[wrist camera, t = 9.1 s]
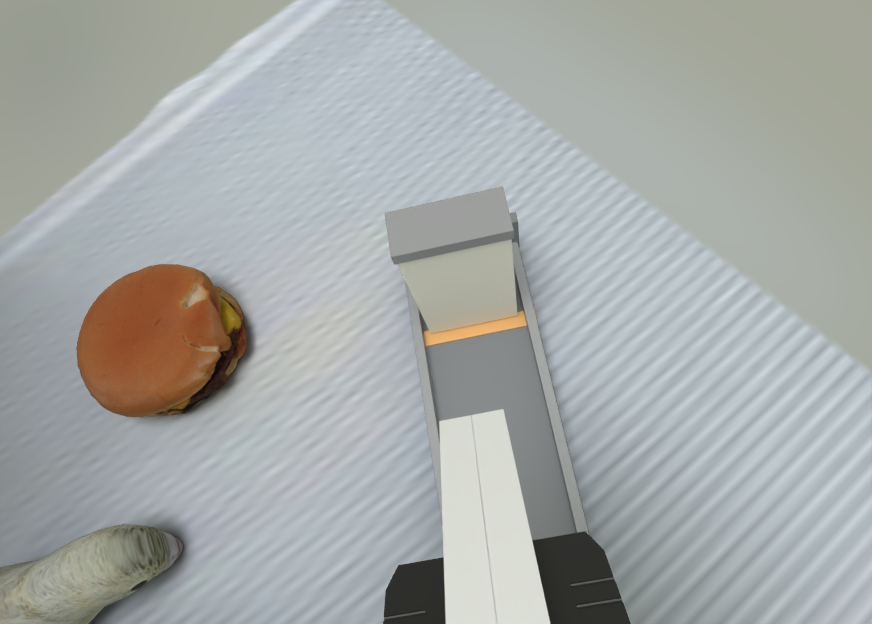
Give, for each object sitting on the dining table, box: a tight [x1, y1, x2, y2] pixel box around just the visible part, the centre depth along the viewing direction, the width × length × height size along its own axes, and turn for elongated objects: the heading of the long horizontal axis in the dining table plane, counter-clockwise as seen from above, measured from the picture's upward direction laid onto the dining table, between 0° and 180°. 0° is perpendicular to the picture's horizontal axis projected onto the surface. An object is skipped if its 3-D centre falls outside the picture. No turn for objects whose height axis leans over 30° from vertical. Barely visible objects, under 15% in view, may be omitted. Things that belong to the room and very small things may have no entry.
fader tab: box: [385, 187, 518, 333], centre depth 30 cm, size 2×5×10 cm, turn 99°
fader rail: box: [405, 212, 589, 540], centre depth 31 cm, size 18×7×4 cm, turn 9°
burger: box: [77, 264, 247, 417], centre depth 36 cm, size 10×9×5 cm
